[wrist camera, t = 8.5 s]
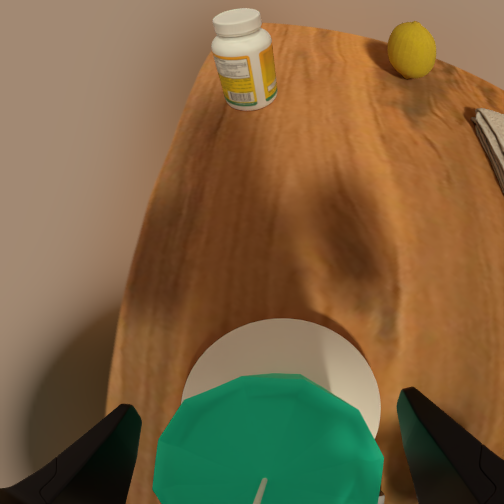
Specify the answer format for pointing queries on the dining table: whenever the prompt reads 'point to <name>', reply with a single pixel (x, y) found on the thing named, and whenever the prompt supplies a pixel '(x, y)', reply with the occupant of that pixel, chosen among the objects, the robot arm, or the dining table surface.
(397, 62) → the lemon
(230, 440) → the candle
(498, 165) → the washcloth
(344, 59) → the dining table surface
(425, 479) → the robot arm
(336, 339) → the dish
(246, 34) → the supplement bottle
